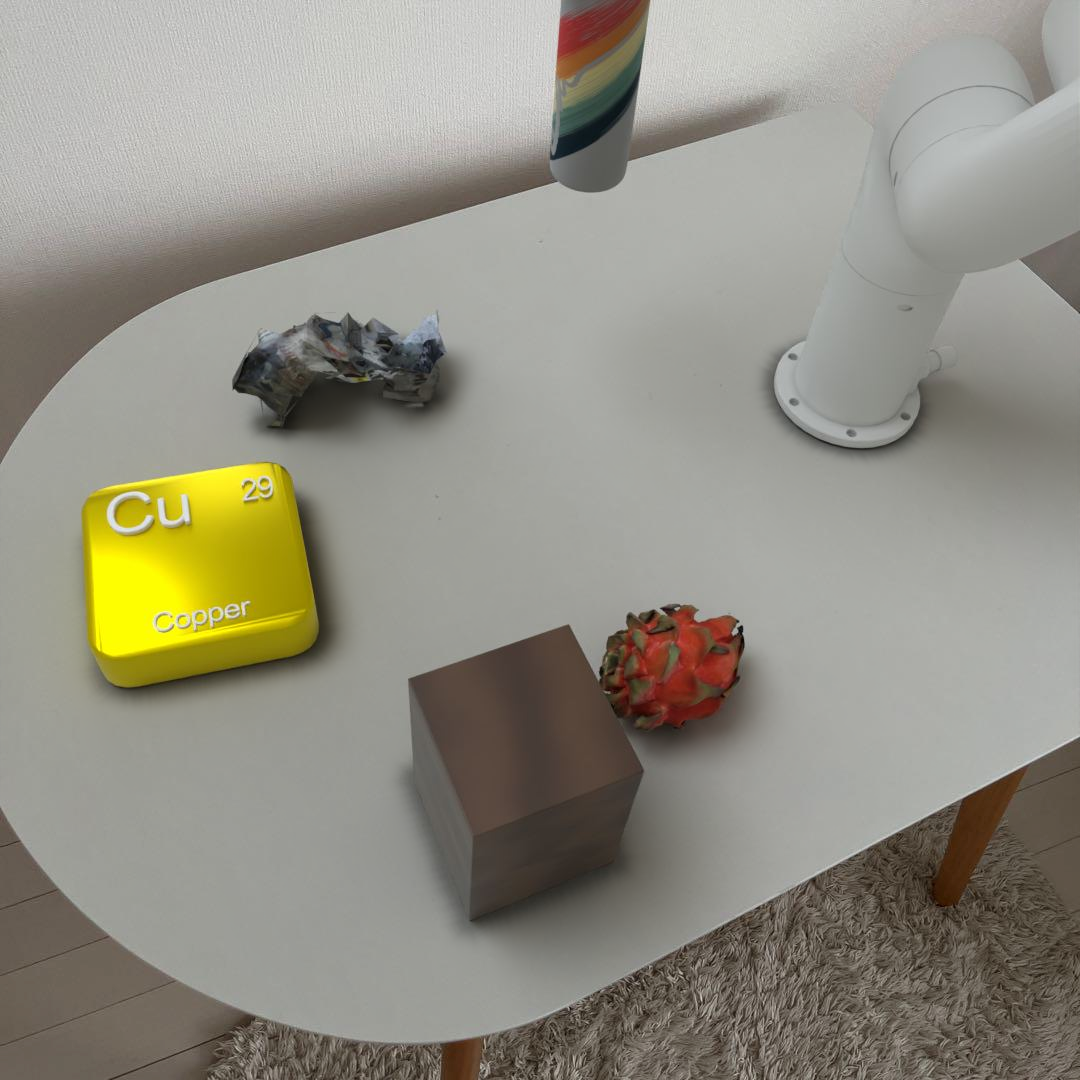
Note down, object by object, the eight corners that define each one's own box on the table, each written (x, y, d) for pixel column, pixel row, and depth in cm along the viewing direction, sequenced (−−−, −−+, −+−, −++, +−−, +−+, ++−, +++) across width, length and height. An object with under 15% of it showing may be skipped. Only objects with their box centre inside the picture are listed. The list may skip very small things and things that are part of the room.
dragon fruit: (576, 729, 78) (710, 674, 84) (647, 777, 71) (788, 713, 77) (561, 619, 76) (700, 570, 81) (633, 657, 69) (780, 600, 74)
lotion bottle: (536, 155, 82) (554, -137, 66) (606, 141, 84) (640, -148, 67) (568, 201, 79) (595, -92, 63) (639, 185, 81) (683, -105, 65)
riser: (551, 730, 77) (569, 623, 65) (614, 861, 71) (644, 770, 60) (413, 780, 74) (407, 678, 62) (468, 921, 69) (472, 837, 57)
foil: (441, 430, 88) (270, 332, 81) (375, 486, 95) (214, 401, 89) (469, 324, 94) (312, 226, 88) (405, 384, 102) (257, 299, 95)
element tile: (103, 695, 76) (85, 660, 72) (94, 524, 84) (77, 484, 80) (324, 652, 79) (317, 616, 75) (293, 490, 87) (286, 451, 83)
